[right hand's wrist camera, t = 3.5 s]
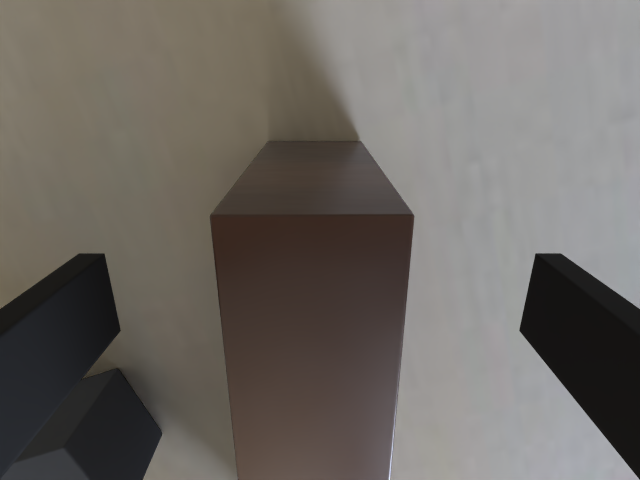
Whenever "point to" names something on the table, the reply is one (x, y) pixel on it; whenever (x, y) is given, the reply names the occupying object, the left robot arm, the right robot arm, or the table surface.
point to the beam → (313, 311)
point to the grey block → (92, 436)
